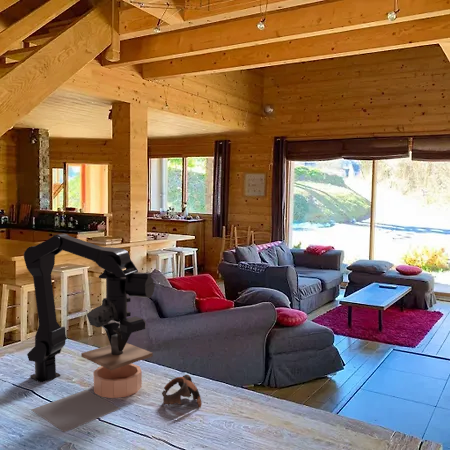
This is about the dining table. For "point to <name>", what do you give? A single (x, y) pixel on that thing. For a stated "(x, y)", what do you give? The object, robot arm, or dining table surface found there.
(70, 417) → the felt mat
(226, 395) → the dining table surface
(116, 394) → the terracotta bowl
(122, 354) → the walnut lid
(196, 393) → the brown curved piece
